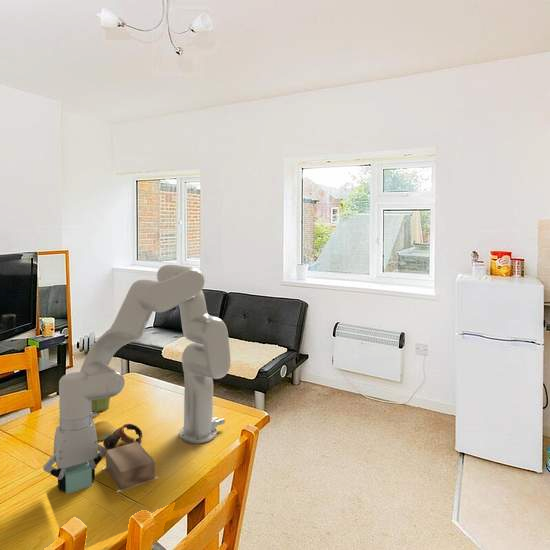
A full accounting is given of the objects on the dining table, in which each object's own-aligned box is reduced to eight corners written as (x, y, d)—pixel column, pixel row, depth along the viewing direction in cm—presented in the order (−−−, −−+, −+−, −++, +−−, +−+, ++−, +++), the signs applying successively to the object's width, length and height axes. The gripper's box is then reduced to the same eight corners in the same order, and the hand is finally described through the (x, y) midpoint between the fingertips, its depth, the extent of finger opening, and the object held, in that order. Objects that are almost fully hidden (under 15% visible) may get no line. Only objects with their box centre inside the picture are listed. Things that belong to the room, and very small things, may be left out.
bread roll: (94, 444, 132) (94, 432, 132) (85, 433, 139) (85, 422, 138) (120, 436, 137) (120, 425, 137) (110, 426, 144) (110, 415, 144)
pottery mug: (123, 438, 137) (135, 419, 136) (137, 460, 132) (150, 440, 131) (91, 444, 126) (104, 423, 125) (106, 468, 122) (120, 446, 121)
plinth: (137, 457, 123) (137, 441, 122) (154, 478, 112) (154, 461, 112) (106, 467, 117) (105, 450, 116) (121, 490, 107) (121, 472, 106)
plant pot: (101, 415, 152) (101, 393, 151) (80, 411, 154) (80, 389, 154) (118, 405, 160) (118, 384, 160) (98, 402, 163) (98, 381, 162)
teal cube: (85, 479, 113) (85, 458, 113) (91, 490, 109) (91, 468, 108) (61, 486, 110) (61, 465, 109) (66, 498, 105) (66, 476, 104)
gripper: (105, 408, 115) (106, 468, 117) (35, 423, 105) (37, 490, 107) (114, 417, 110) (114, 481, 111) (40, 435, 99) (42, 506, 101)
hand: (76, 485), depth 109 cm, fingers closed on teal cube, 6 cm apart
